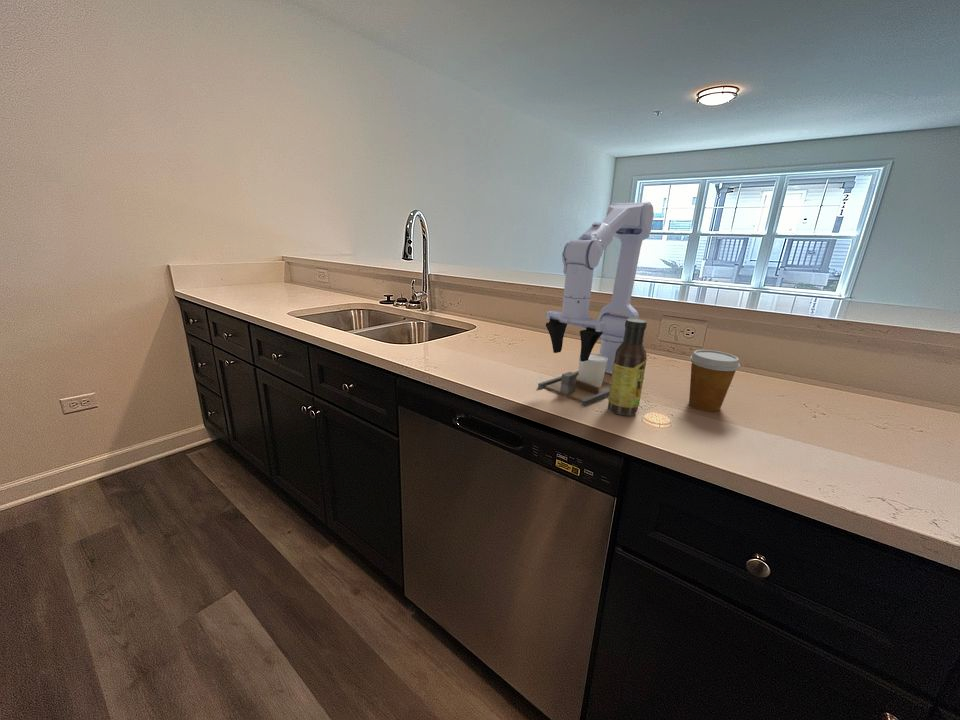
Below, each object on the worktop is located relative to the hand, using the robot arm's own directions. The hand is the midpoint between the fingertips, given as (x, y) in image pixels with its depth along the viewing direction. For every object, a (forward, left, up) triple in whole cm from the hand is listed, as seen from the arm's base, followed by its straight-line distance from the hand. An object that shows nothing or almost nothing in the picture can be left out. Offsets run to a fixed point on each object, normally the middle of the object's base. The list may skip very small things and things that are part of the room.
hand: (570, 356), depth 91 cm
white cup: (-9, 0, -9) cm, 13 cm away
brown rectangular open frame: (-6, 0, -9) cm, 11 cm away
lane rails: (-7, 0, -9) cm, 12 cm away
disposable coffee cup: (-20, +23, -10) cm, 32 cm away
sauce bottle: (-2, +13, -10) cm, 16 cm away
